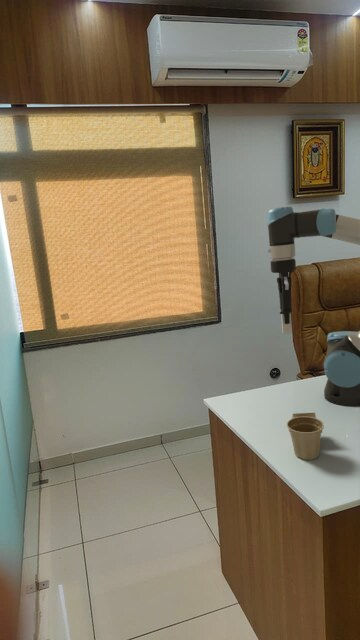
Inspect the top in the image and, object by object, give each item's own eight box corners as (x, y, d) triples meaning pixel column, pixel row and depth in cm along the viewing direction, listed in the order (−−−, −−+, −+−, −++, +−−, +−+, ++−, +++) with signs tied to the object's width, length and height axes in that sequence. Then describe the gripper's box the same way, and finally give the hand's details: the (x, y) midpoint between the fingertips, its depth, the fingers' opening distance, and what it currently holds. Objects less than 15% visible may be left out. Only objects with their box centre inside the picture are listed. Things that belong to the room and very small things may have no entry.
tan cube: (315, 412, 115) (318, 434, 112) (312, 417, 120) (315, 438, 117) (292, 413, 115) (295, 435, 113) (291, 418, 121) (294, 439, 118)
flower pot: (301, 467, 104) (299, 435, 102) (281, 450, 113) (279, 421, 111) (332, 458, 107) (331, 427, 105) (311, 442, 115) (310, 413, 114)
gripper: (268, 258, 134) (273, 329, 139) (272, 261, 122) (277, 338, 126) (292, 256, 133) (295, 327, 138) (298, 259, 121) (302, 337, 125)
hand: (287, 332), depth 132 cm, fingers closed
